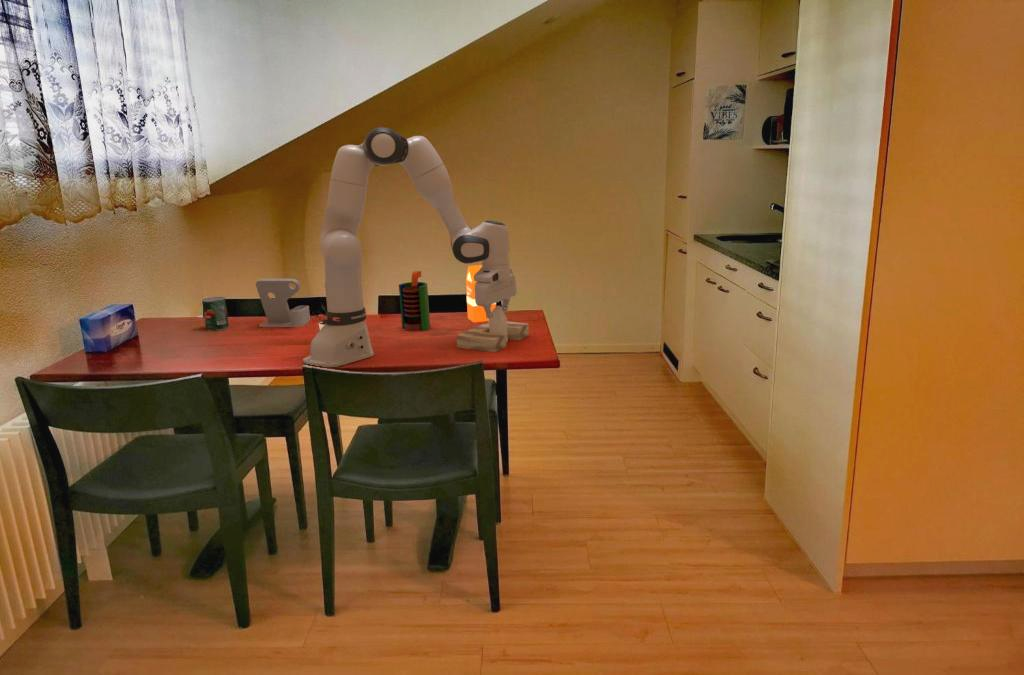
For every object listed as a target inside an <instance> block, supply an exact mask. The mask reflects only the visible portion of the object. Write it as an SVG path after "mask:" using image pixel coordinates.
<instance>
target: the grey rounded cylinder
mask: <svg viewBox="0 0 1024 675" xmlns="http://www.w3.org/2000/svg"><path fill="white" fill-rule="evenodd" d="M492 312H493V317H492V318H489V321H488V322H489V333H496V334H505V335H506V344H507V343H508V340H509V339H508V332H507V322H508V318H507V315H506V314H505V312H503V310H502V306H500V305H496V307H495V308H494V309H493V310H492Z"/></svg>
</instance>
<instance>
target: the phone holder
mask: <svg viewBox="0 0 1024 675" xmlns="http://www.w3.org/2000/svg"><path fill="white" fill-rule="evenodd" d="M290 284H294V286H295V287H292V286H291V285H290ZM255 287H256V291H257V293H258V296H259V299H260V302H261V305H262V308H263V310H264V313H265V314H264V315H265V316H266V321H263V322H262V323H260V324H259V325H258V328H260V327H300V326H303V325H305V324H306V323H308V322H309V321H310V320H311V314H310V306H309V305H297V306H295V307H294V308H292V309H290V307H289V303H288V300H290V298H292V297H293V296H295V295H296V294H297V293H298V292H299V291H300V290H301V283H300V281H299V280H297V278H296V279H295V278H258V280H256V282H255ZM269 293H271V294H273V295H274V298H271V297H270V295H269Z"/></svg>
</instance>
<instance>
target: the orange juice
mask: <svg viewBox="0 0 1024 675" xmlns="http://www.w3.org/2000/svg"><path fill="white" fill-rule="evenodd" d="M481 267H482V264H479V265H468V268H467V272H466V278H465V287H466V306H467V308H466V309H467V319H468V320H470V321H471V322H472V323H481V322H489V318H486V312H485V310H484V308H483V306H477V304H476V302H475V284H476V282H477V281H474V275H475V274H476V273H477V272H478V271H479V270H480V268H481ZM495 307H497V303H494V304H491V308H490V309H491V312H492V310H493V309H494V308H495Z"/></svg>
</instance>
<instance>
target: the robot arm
mask: <svg viewBox="0 0 1024 675" xmlns="http://www.w3.org/2000/svg"><path fill="white" fill-rule="evenodd" d="M393 164H399V165H401V166H402V167H403V169H404V170H405V171H406V172H407V175H408V176H409V179H410V180H411V182H412V184H413V186H414V187H415V189H416V190H417V192H418V193H419V194H420V196H421V197H422V198H423V200H425V201H426V202H428V203H429V205H431V206H433V207H434V209H435V210H436V211H437V212H438V215H439V216H440V218H441V220H442V222H443V223H444V225H445V227H446V229H447V230H448V232H449V235H450V247H451V251H452V254H453V256H454V258H455V259H456V260H457V261H458V262H460V263H463V264H467V265H469V264H473V263H479V262H481V265H482V267H481V268H480V270H479V271H478V272H477V273H476V274H475V275H474V281H477V282H476V284H475V302H476V304H477V306H483V308H484V310H485V312H486V318H492V317H493V312H491V309H490V308H491V304H494V303H496V304H497V303H499V302H501V301H502V305H501V307H502V310H503V313H507V312H508V311H509V305H510V301H511V299H510V298H513V297H515V296H516V294H517V282H516V276H515V275H514V271H513V270H512V269H511V260H510V256H509V254H510V234H509V228H508V227H507V225H506V224H504V223H503V222H501V221H495V220H484V221H483V222H482V223H480V224H479V225H477V226H475V227H474V228H472V227H471V226H469V224H468V223H467V221H466V220H465V218H464V216H463V215H462V212H461V211H460V209H459V207H458V205H457V203H456V201H455V200H456V199H455V197H454V193H453V183H452V182H451V177H450V175H449V172H448V170H447V167H446V166H445V164H444V162H443V160H442V158H441V157H440V155H439V153H438V151H437V150H436V149H435V147H434V146H433V145H432V143H431V142H430V141H429V140H428V139H427V137H425V136H423V135H413V136H411V137H408V138H406V137H405V136H402V135H401V134H399V133H398V132H396V131H395V130H393V129H392V128H390V127H385V126H379V127H375V128H374V129H372V130H370V131H369V132H368V133H367V135H366V136H365V139H364V141H363V142H362V143H361V144H359V145H356V144H345V145H343V146H341V147H339V148H338V150H337V152H336V155H335V157H334V161H333V165H332V167H331V172H330V180H329V185H328V186H329V188H328V194H327V200H326V207H325V212H324V216H323V221H322V224H321V230H320V237H319V242H318V243H319V244H318V246H319V250H320V253H321V254H322V256H323V259H324V277H325V280H324V288H325V290H324V291H325V297H326V298H325V299H326V306H327V310H325V314H318V315H317V320H318V321H320V322H324V324H323V326H322V327H321V328H320V330H319V331H318V333H317V334H316V335H315V336H314V337H313V339H312V340H311V342H310V345H309V346H310V347H309V348H310V349H309V355H308V356H306V357H304V358H302V363H303V364H305V363H306V365H308V364H310V365H309V366H312V365H315V366H314V367H319V366H322V367H321V368H337V367H341V366H345V365H347V364H350V363H353V362H357V361H361V360H364V359H367V358H371V357H374V356H375V352H374V350H373V347H372V343H371V339H370V333H369V329H368V326H367V322H366V320H367V312H366V308H365V306H364V294H363V292H364V291H363V285H362V280H363V278H362V277H363V259H362V258H363V257H362V256H363V252H362V244H361V241H360V239H359V238H358V235H359V230H360V227H361V222H362V219H363V215H364V212H365V206H366V198H367V194H368V193H367V192H368V186H369V180H370V174H371V171H372V169H373V168H374V167H379V166H380V167H387V166H391V165H393Z"/></svg>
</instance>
